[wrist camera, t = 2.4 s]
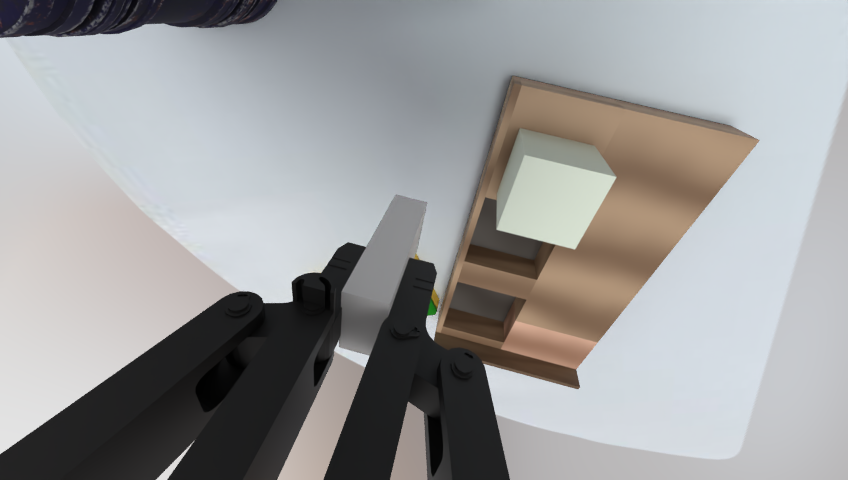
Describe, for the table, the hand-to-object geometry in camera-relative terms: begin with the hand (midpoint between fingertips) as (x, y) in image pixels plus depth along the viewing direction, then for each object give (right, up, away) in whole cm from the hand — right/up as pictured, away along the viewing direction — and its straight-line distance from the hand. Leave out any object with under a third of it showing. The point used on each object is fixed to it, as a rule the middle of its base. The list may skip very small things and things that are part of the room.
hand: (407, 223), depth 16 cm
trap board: (+12, -1, +14) cm, 19 cm away
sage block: (+9, +4, +7) cm, 12 cm away
